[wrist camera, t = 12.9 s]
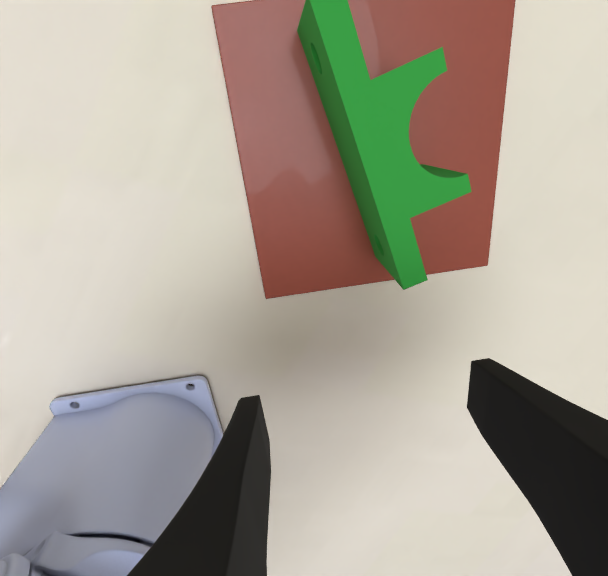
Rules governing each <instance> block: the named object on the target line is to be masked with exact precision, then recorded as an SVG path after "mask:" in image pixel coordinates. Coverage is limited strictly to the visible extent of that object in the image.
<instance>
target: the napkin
mask: <svg viewBox="0 0 608 576" xmlns="http://www.w3.org/2000/svg"><path fill="white" fill-rule="evenodd" d="M305 1H306V0H254V1H245V2H237V3H228V4H220V5H212V6H211V7H212V12H213V18H214V23H215V28H216V34H217V39H218V45H219V50H220V55H221V61H222V66H223V71H224V77H225V82H226V88H227V93H228V98H229V104H230V109H231V114H232V120H233V125H234V131H235V136H236V141H237V147H238V152H239V157H240V163H241V168H242V174H243V179H244V184H245V190H246V195H247V200H248V206H249V211H250V217H251V222H252V227H253V233H254V238H255V244H256V249H257V254H258V260H259V265H260V270H261V276H262V281H263V287H264V292H265V297H266V299H268V298H275V297H281V296H288V295H294V294H301V293H308V292H314V291H321V290H328V289H334V288H341V287H348V286H354V285H361V284H368V283H374V282H381V281H388V280H394V278H393V277H392V276H391V274H390V273H389V272H388V271H387V270H386V269H385V267H384V266H383V265H382V264H381V263H380V262H379V260H378V259H377V258H376V257H375V254H374V251H373V248H372V245H371V243H370V240H369V237H368V234H367V231H366V228H365V225H364V222H363V220H362V217H361V214H360V211H359V208H358V205H357V202H356V199H355V197H354V194H353V191H352V188H351V185H350V182H349V179H348V176H347V173H346V171H345V168H344V165H343V162H342V159H341V156H340V153H339V150H338V148H337V145H336V142H335V139H334V136H333V133H332V130H331V127H330V124H329V122H328V119H327V116H326V113H325V110H324V107H323V104H322V101H321V99H320V96H319V93H318V90H317V87H316V84H315V81H314V78H313V76H312V73H311V70H310V67H309V64H308V61H307V58H306V55H305V52H304V50H303V47H302V44H301V41H300V38H299V35H298V32H297V28H298V25H299V21H300V18H301V14H302V11H303V8H304V4H305ZM348 3H349V7H350V10H351V14H352V17H353V21H354V24H355V28H356V31H357V35H358V38H359V42H360V45H361V49H362V52H363V56H364V59H365V63H366V66H367V70H368V73H369V77H370V80H372V79H374V78H376V77H378V76H381V75H383V74H385V73H387V72H389V71H391V70H393V69H396V68H398V67H400V66H402V65H404V64H406V63H409V62H411V61H413V60H415V59H417V58H419V57H422V56H424V55H426V54H428V53H430V52H432V51H434V50H437V49H439V48H441V47H443V52H444V57H445V62H446V67H447V71H446V72H444V73H442V74H440V75H439V76H437V77H436V78H435V79H434V80H432V81H431V82H430V83H429V84H428V85H427V86H426V88H425V89H424V90H423V91H422V93H421V94H420V96H419V98H418V99H417V101H416V103H415V105H414V108H413V111H412V114H411V118H410V123H409V141H410V146H411V150H412V152H413V155H414V157H415V158H416V160H417V161H418V163H419V164H420V165H421V164H425V165H429V166H434V167H438V168H443V169H448V170H452V171H457V172H462V173H466V174H468V176H469V181H470V186H471V191H472V192H470V193H468V194H465V195H463V196H461V197H458V198H456V199H454V200H451V201H449V202H447V203H444V204H442V205H440V206H437V207H435V208H433V209H430V210H428V211H426V212H423V213H421V214H419V215H416V216H414V217H412V218H410V220H411V224H412V227H413V231H414V234H415V238H416V241H417V245H418V248H419V252H420V255H421V259H422V262H423V266H424V269H425V273H426V275H427V274H434V273H441V272H447V271H454V270H461V269H467V268H474V267H481V266H487V265H488V257H489V248H490V238H491V229H492V219H493V209H494V200H495V190H496V181H497V171H498V161H499V152H500V142H501V133H502V123H503V113H504V104H505V94H506V85H507V75H508V65H509V56H510V46H511V37H512V27H513V17H514V8H515V0H348Z"/></svg>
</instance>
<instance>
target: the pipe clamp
mask: <svg viewBox="0 0 608 576" xmlns="http://www.w3.org/2000/svg"><path fill="white" fill-rule="evenodd" d="M297 32H298V35H299V38H300V41H301V44H302V47H303V50H304V52H305V55H306V58H307V61H308V64H309V67H310V70H311V73H312V76H313V78H314V81H315V84H316V87H317V90H318V93H319V96H320V99H321V101H322V104H323V107H324V110H325V113H326V116H327V119H328V122H329V124H330V127H331V130H332V133H333V136H334V139H335V142H336V145H337V148H338V150H339V153H340V156H341V159H342V162H343V165H344V168H345V171H346V173H347V176H348V179H349V182H350V185H351V188H352V191H353V194H354V197H355V199H356V202H357V205H358V208H359V211H360V214H361V217H362V220H363V222H364V225H365V228H366V231H367V234H368V237H369V240H370V243H371V245H372V248H373V251H374V254H375V257H376V258H377V259H378V260H379V262H380V263H381V264H382V265H383V266H384V267H385V269H386V270H387V271H388V272H389V273H390V274H391V276H392V277H393V278H394V279H395V280H396V281H397V283H398V284H399V285H400V286H401V287H402V288H403V290H404V289H407V288H409V287H412V286H414V285H416V284H419V283H421V282H424V281H426V280H427V276H426V273H425V269H424V266H423V262H422V259H421V255H420V252H419V248H418V245H417V241H416V238H415V234H414V231H413V227H412V224H411V220H410V218H412V217H414V216H416V215H419V214H421V213H423V212H426V211H428V210H430V209H433V208H435V207H437V206H440V205H442V204H444V203H447V202H449V201H451V200H454V199H456V198H458V197H461V196H463V195H465V194H468V193H470V192H472V191H471V186H470V181H469V176H468V174H466V173H462V172H457V171H452V170H448V169H443V168H438V167H434V166H429V165H425V164H421V165H420V164H419V163H418V161H417V160H416V158H415V157H414V155H413V152H412V150H411V146H410V141H409V123H410V118H411V114H412V111H413V108H414V105H415V103H416V101H417V99H418V98H419V96H420V94H421V93H422V91H423V90H424V89H425V88H426V86H427V85H428V84H429V83H430V82H431V81H432V80H434V79H435V78H436V77H437V76H439V75H440V74H442V73H444V72H446V71H447V67H446V62H445V57H444V52H443V47H441V48H439V49H437V50H434V51H432V52H430V53H428V54H426V55H424V56H422V57H419V58H417V59H415V60H413V61H411V62H409V63H406V64H404V65H402V66H400V67H398V68H396V69H393V70H391V71H389V72H387V73H385V74H383V75H381V76H378V77H376V78H374V79H372V80H370V77H369V73H368V70H367V66H366V63H365V59H364V56H363V52H362V49H361V45H360V42H359V38H358V35H357V31H356V28H355V24H354V21H353V17H352V14H351V10H350V7H349V3H348V0H306V1H305V4H304V8H303V11H302V14H301V18H300V21H299V25H298V28H297Z"/></svg>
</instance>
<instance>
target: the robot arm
mask: <svg viewBox="0 0 608 576" xmlns="http://www.w3.org/2000/svg"><path fill="white" fill-rule="evenodd" d="M188 384H193V385H194V386H189V385H188ZM75 402H77V403H78V404H76V403H75ZM467 408H468V410H469V412H470V414H471V416H472V418H473V420H474V422H475V424H476V426H477V427H478V429H479V431H480V433H481V435H482V436H483V438H484V439H485V441H486V442H487V443H488V445H489V446H490V448H491V449H492V451H493V452H494V453H495V455H496V456H497V458H498V459H499V461H500V462H501V463H502V465H503V466H504V468H505V469H506V470H507V472H508V473H509V475H510V476H511V477H512V479H513V480H514V482H515V483H516V484H517V486H518V487H519V489H520V490H521V491H522V493H523V494H524V496H525V497H526V498H527V500H528V501H529V503H530V504H531V506H532V507H533V509H534V510H535V512H536V514H537V515H538V517H539V518H540V520H541V522H542V523H543V525H544V527H545V529H546V530H547V532H548V534H549V535H550V537H551V539H552V540H553V542H554V544H555V546H556V547H557V549H558V551H559V553H560V554H561V556H562V558H563V560H564V562H565V563H566V565H567V567H568V569H569V570H570V572H571V574H572V576H608V420H606V419H604V418H602V417H600V416H598V415H596V414H594V413H592V412H589V411H587V410H585V409H583V408H581V407H579V406H577V405H575V404H573V403H571V402H569V401H567V400H565V399H563V398H561V397H560V396H558V395H556V394H554V393H552V392H550V391H548V390H546V389H545V388H543V387H541V386H539V385H537V384H535V383H534V382H532V381H530V380H528V379H526V378H525V377H523V376H521V375H519V374H517V373H516V372H514V371H512V370H510V369H508V368H507V367H505V366H503V365H501V364H499V363H497V362H495V361H493V360H491V359H489V358H488V359H481V360H475V361H471V371H470V381H469V392H468V402H467ZM50 409H51V411H52V413H53V415H54V417H53V419H52V420H51V421H50V423H49V424H48V426H47V427H46V428H45V430H44V431H43V432H42V434H41V435H40V436H39V438H38V439H37V440H36V442H35V443H34V444H33V446H32V447H31V448H30V450H29V451H28V452H27V454H26V455H25V456H24V458H23V459H22V460H21V462H20V463H19V464H18V466H17V467H16V469H15V470H14V471H13V473H12V474H11V475H10V477H9V478H8V479H7V481H6V482H5V483H4V485H3V486H2V487H1V489H0V576H267V566H266V559H267V533H268V515H269V498H270V479H271V462H270V442H269V436H268V432H267V427H266V423H265V418H264V414H263V409H262V405H261V400H260V396H259V395H257V396H250V397H244V398H241V399H240V400H239V401H238V403H237V406H236V408H235V411H234V413H233V416H232V418H231V420H230V422H229V425H228V427H227V429H226V431H225V433H224V435H223V432H222V428H221V425H220V422H219V418H218V415H217V412H216V408H215V405H214V401H213V398H212V395H211V391H210V388H209V385H208V381H207V379H206V378H205V377H203V376H192V377H185V378H179V379H173V380H166V381H160V382H154V383H147V384H141V385H135V386H128V387H122V388H116V389H109V390H103V391H96V392H90V393H84V394H77V395H71V396H65V397H58V398H55V399H54V400H53V401H52V402H51V403H50Z"/></svg>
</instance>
